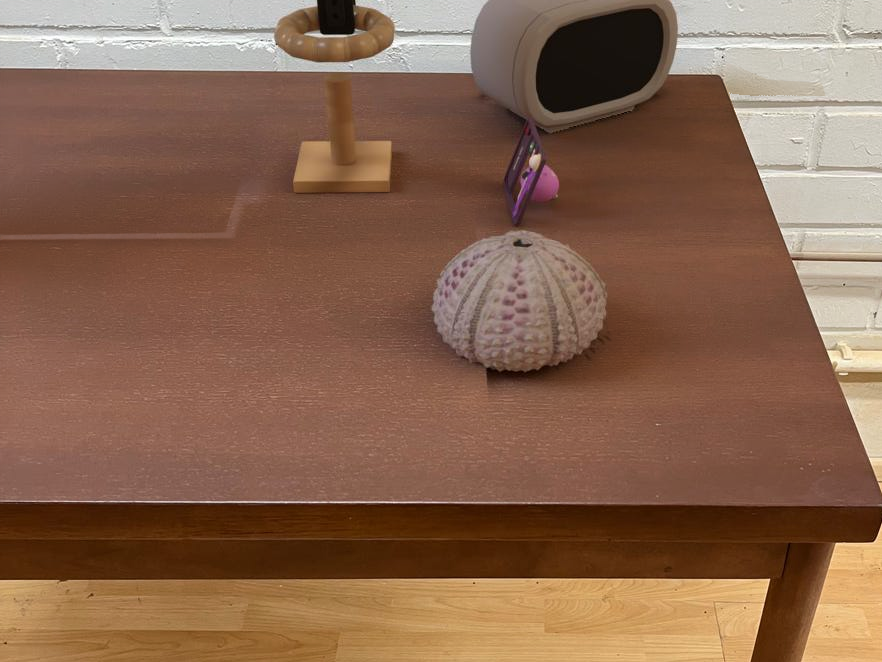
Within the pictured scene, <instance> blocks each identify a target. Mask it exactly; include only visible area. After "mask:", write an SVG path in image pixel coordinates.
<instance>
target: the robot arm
mask: <svg viewBox="0 0 882 662" xmlns="http://www.w3.org/2000/svg"><path fill="white" fill-rule="evenodd" d="M356 1H357V0H316V6H317V8H318V18H319V28H320V30H319V33H320V34H321V35H322V36H352V35H355V32H356V29H355V22H354V9H353V5H356V6H357V4H356V3H357V2H356Z"/></svg>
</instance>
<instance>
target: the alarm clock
mask: <svg viewBox="0 0 882 662" xmlns="http://www.w3.org/2000/svg"><path fill="white" fill-rule="evenodd" d="M678 32H679V25H678V15H677V11H676V9H675V7H674V5H673V3H672V1H671V0H487V1H486V2H485V3H484V4H483V6H482V8H481V9H480V11H479V13H478V15H477V17H476V19H475V22H474V26H473V30H472V33H471V39H470V51H469V54H470V67H471V68H470V69H471V73H472V76H473V80H474V82H475V85H476V86H477V88H478V89H479V91H480V92H481V93H482V94H483V95H485V96H487V97H488V98H490V99H491V100H494V101H495V102H497V103H499V104H500V105H502V106H504V107H506V108H507V109H509V111H511V112H513V113H514V114H516V115H517V116H519V117H521V118H523V119H524V120H526V121H527V119H528V117H530V118H533V121H534V124H535V127H538V128H540V129H541V130H543V129H544V130H543V131H545V132H547V133H549V134H553V132H554V133H556V131H557V132H560V130H561V131H565V130H568V129H570V128H569V127H572V128H574V127H573V126H576V127H578V126H577V125H579V126H581V125H580V124H583V125H585V124H584V123H587V122H591V121H594V122H596V121H595V120H597V119H601V118H603V117H607V116H611V115H614V114H618V113H622V112H626V111H629V110H633V109H634V110H635V106H636V105H639V104H642V103H643V102H646V101H647V100H650V99H651V98H652V97H653V96H654V95H655V94H656V92H658V91H659V90H660V89H661V88H662V87H663V84H664V82H665V81H666V79H667V78H668V76H669V74H670V71H671V68H672V65H673V63H674V60H675V56H676V52H677V51H676V50H677V45H678V36H679V35H678V34H679V33H678ZM591 123H592V122H591ZM587 124H588V123H587ZM564 129H565V130H564Z"/></svg>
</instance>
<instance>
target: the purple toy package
mask: <svg viewBox="0 0 882 662" xmlns="http://www.w3.org/2000/svg"><path fill="white" fill-rule="evenodd" d="M521 131H522V132H521V134H520V137H519V139H518V141H517V144H516V146H515V149H514V152H513V154H512V157H511V159H510V161H509V164H508V167H507V169H506V172H505V174H504V177H503V179H502V185H503V188H504V191H505V195H506V196H505V197H506V199H507V203H508V207H509V210H510V213H511V217H512V221H513V224H514V226H517V227H519V226H520V225H521V222H522V220H523V218H524V215H525V213H526V210H527V208H528V206H529V203H530V201H531V200H533V201H535V202H538V203H544V202H549V201H551V200H552V199H554V200H556V198H558V197H559V196H558V192H559V188H560V182H559V178H558V176H557V174H556V173H555V171H553V170H552V168H550V166H548V165H547V164H546V162H547V159H548V157H547V154H546V152H545V150H544V146H543V144H542V140H541V139H540V135H539V132H538V129H537V126H536V125H535V124H534V121H533V118H530V117H528V119H527V120H526V121H525V124H524V126H523V129H522V130H521ZM528 156H530V158H529V161H528V164H529V166H528V167H526V169H525V170H524V171H523V168H524V166H525V164H526V162H527V158H528ZM522 171H523V172H522ZM520 176H521V177H520ZM519 179H520V186H521V188H520V190H519V193H518V195H517V200H516V202H515V200H514V198H513V193H514V191H515V188H516V186H517V183H518V180H519ZM525 194H526V195H525ZM524 196H525V197H524ZM523 198H524V200H523ZM522 200H523V202H522ZM521 203H522V205H521V207H520V204H521Z"/></svg>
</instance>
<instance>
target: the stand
mask: <svg viewBox="0 0 882 662" xmlns="http://www.w3.org/2000/svg"><path fill="white" fill-rule="evenodd" d="M323 82H324V84H323V85H324V92H325V94H324V95H325V105H326V115H327V126H328V136H329V141H327V140H324V141H323V140H322V141H321V140H320V141H318V140H317V141H311V140H309V141H301V143H300V144H301V145H300V148H299V153H298V158H297V162H296V167H295V170H294V171H295V172H294V176H293V181H292V183H293V191H294V193H295V194H315V193H316V194H318V193H319V194H321V193H323V194H324V193H327V194H328V193H329V194H331V193H332V194H333V193H334V194H335V193H390V192H391V176H392V159H393V158H392V157H393V144H392V143H393V142H392V140H359V141H358V140H356V138H355V137H356V135H355V122H354V110H353V109H354V108H353V97H352V96H353V95H352V84H351V83H352V82H351V76H350V75H349V74H348V73H345V72H330V73H328V74H326V75H325V76H324V77H323Z"/></svg>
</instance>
